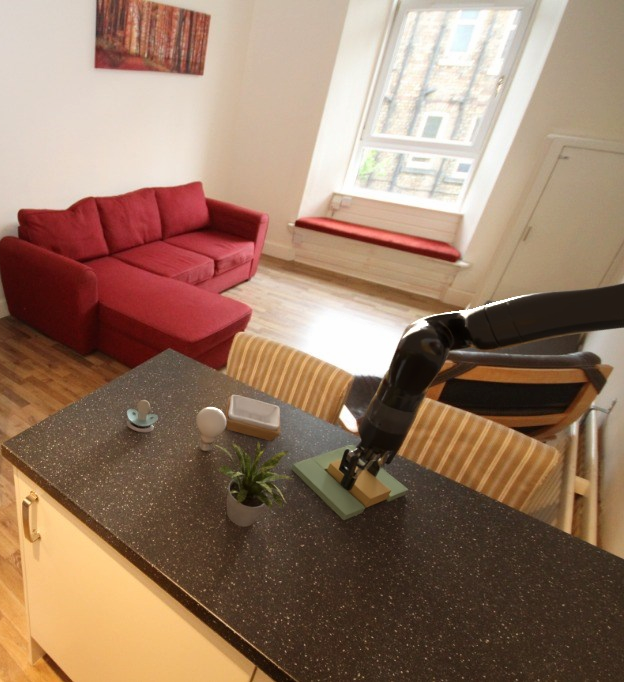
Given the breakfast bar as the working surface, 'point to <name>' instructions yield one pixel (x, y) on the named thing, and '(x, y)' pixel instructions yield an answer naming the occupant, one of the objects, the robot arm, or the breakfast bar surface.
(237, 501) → the house plant
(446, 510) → the breakfast bar surface
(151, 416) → the pacifier
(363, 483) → the ochre pad
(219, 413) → the lightbulb
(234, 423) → the soap dish
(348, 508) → the green u-shaped block
